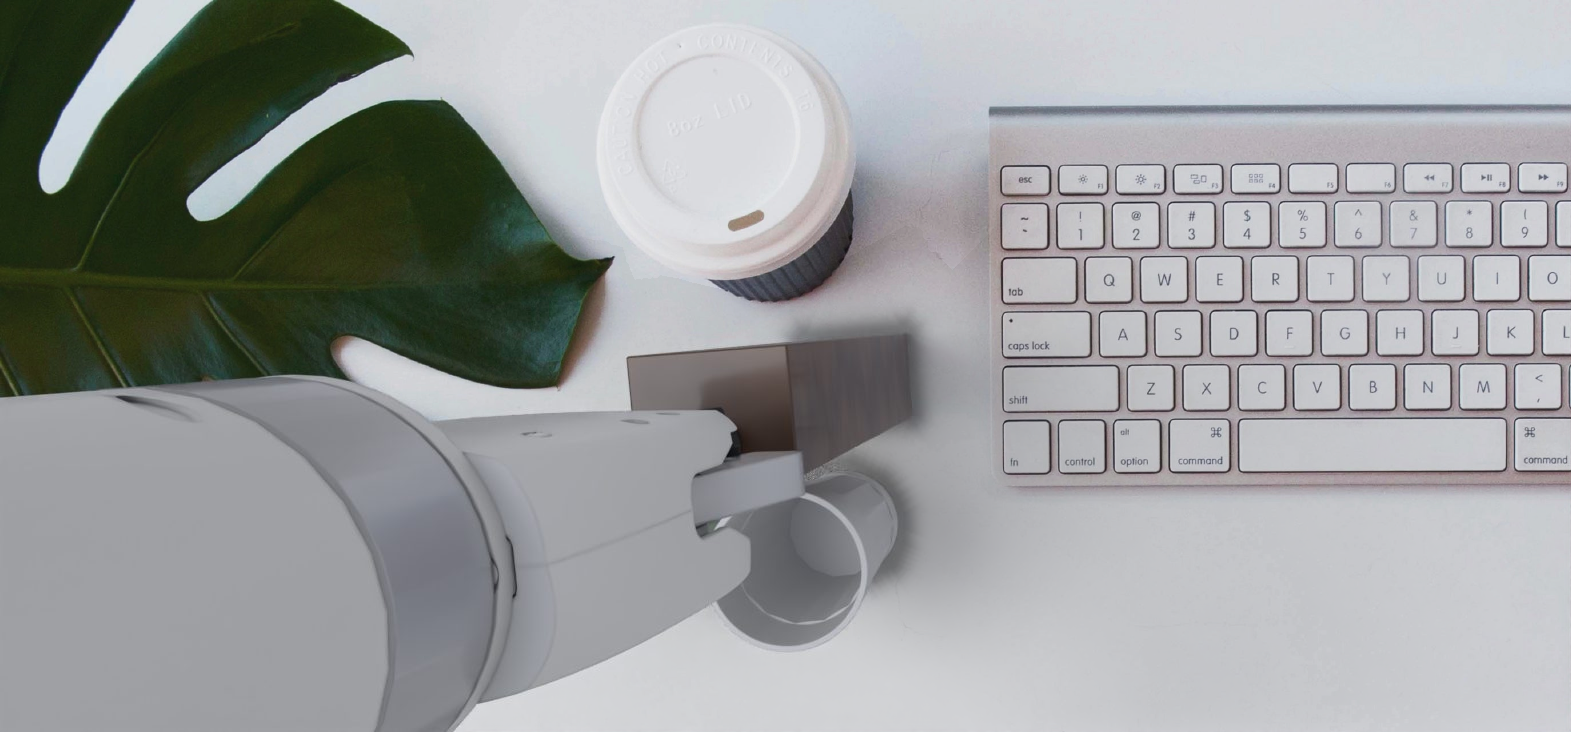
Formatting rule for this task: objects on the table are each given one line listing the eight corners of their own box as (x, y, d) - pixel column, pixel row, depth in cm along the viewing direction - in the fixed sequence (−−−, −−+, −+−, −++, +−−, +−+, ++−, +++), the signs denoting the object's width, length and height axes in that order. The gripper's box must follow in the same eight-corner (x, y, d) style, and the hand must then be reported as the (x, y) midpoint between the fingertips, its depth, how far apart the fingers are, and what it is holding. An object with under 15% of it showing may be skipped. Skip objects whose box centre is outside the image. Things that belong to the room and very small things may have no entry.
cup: (779, 590, 64) (705, 653, 52) (776, 457, 64) (700, 490, 52) (913, 588, 64) (869, 651, 52) (910, 455, 64) (865, 488, 52)
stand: (913, 416, 64) (799, 478, 40) (812, 424, 64) (638, 491, 40) (906, 332, 63) (786, 344, 39) (805, 340, 64) (624, 356, 40)
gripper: (-200, 858, 18) (456, 584, 37) (739, 789, 18) (923, 549, 36) (-261, 416, 18) (432, 364, 36) (697, 343, 18) (904, 328, 36)
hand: (676, 457), depth 36 cm, fingers closed
